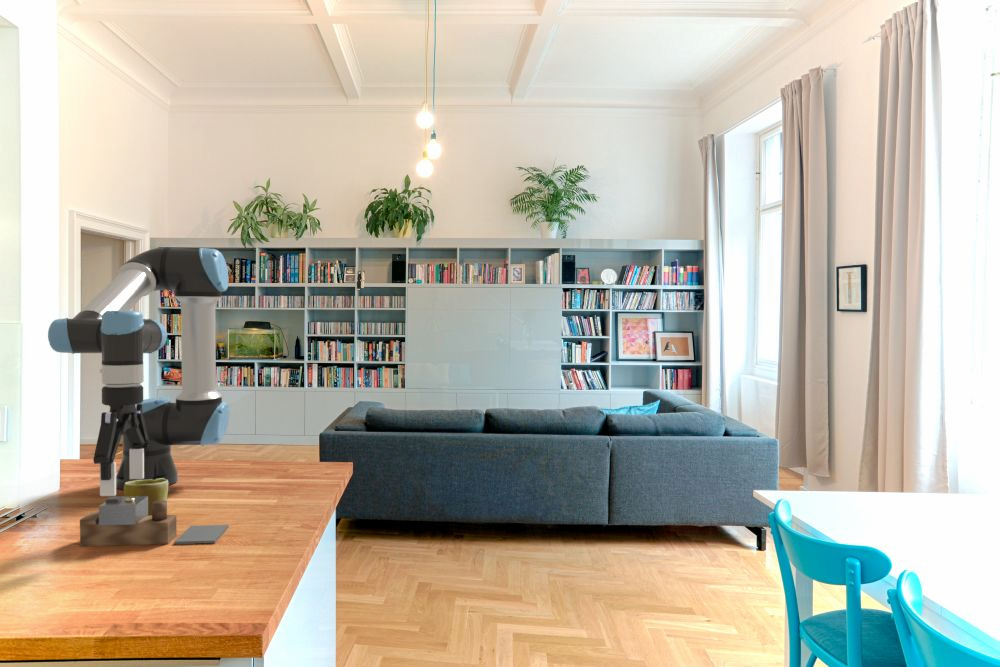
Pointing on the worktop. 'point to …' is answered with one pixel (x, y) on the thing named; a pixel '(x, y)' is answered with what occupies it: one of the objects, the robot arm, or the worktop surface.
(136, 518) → the lever cap
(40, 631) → the worktop surface
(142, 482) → the mug
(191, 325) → the robot arm
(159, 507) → the plane body
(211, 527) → the mat
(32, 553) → the worktop surface
